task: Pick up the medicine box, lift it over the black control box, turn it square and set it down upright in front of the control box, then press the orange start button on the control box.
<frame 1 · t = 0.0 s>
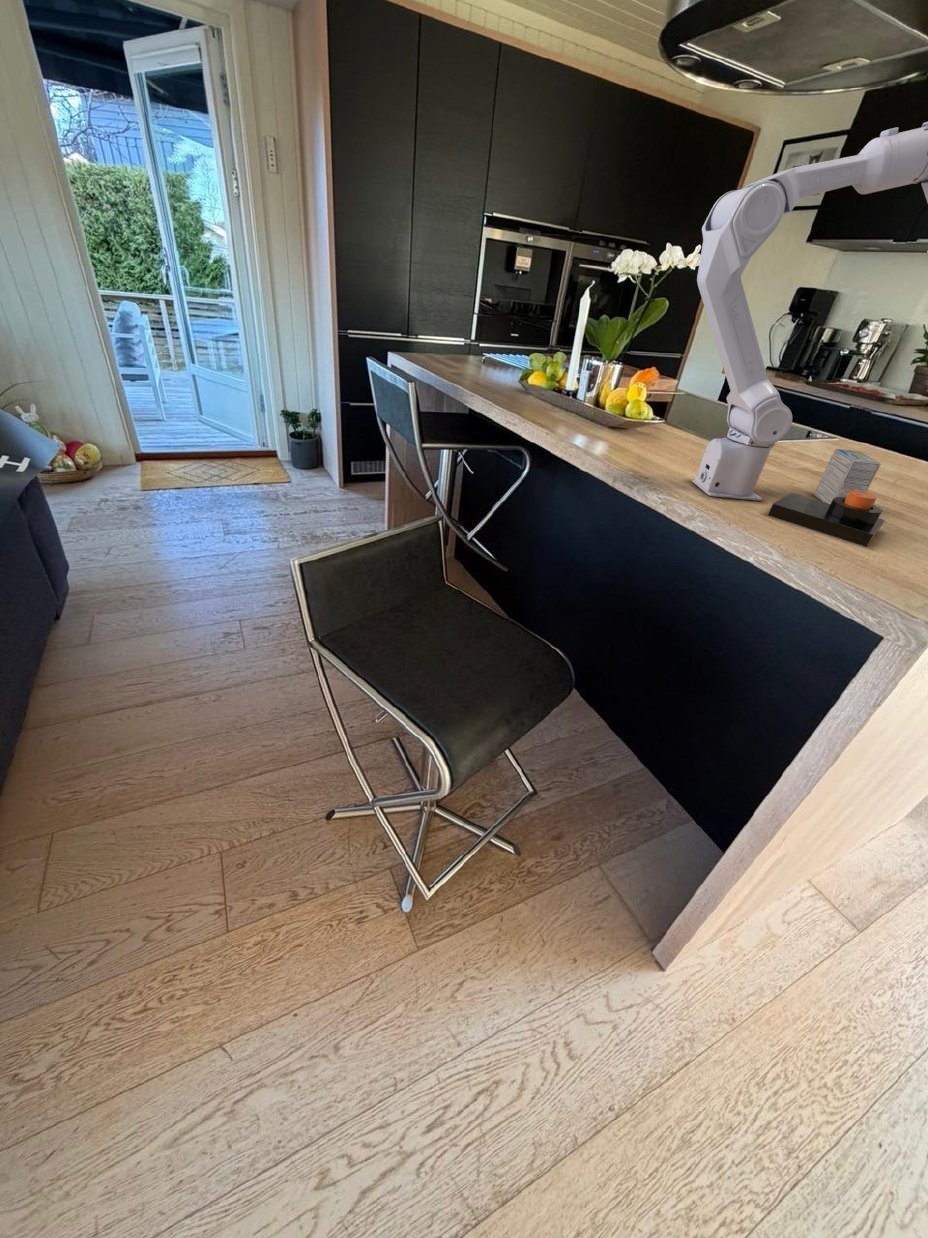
medicine box: (832, 504, 93), on the table
start button: (859, 500, 80), point 5 cm above the table, slide at 0.1 cm
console: (822, 523, 83), on the table
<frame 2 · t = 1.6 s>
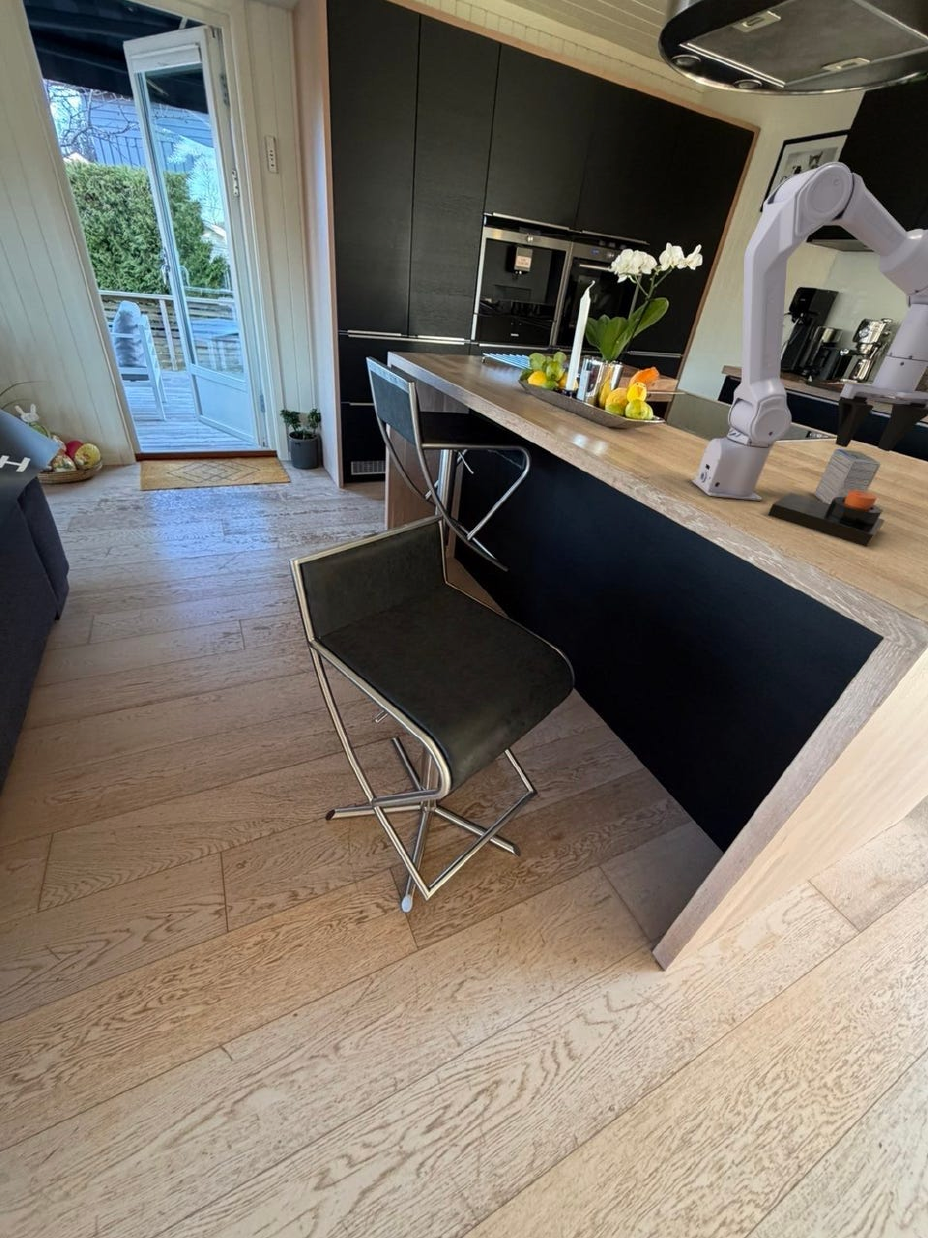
hand: (862, 447, 88), 10 cm above the table, tool pointing down, fingers open, 7 cm apart
nothing on the table moved.
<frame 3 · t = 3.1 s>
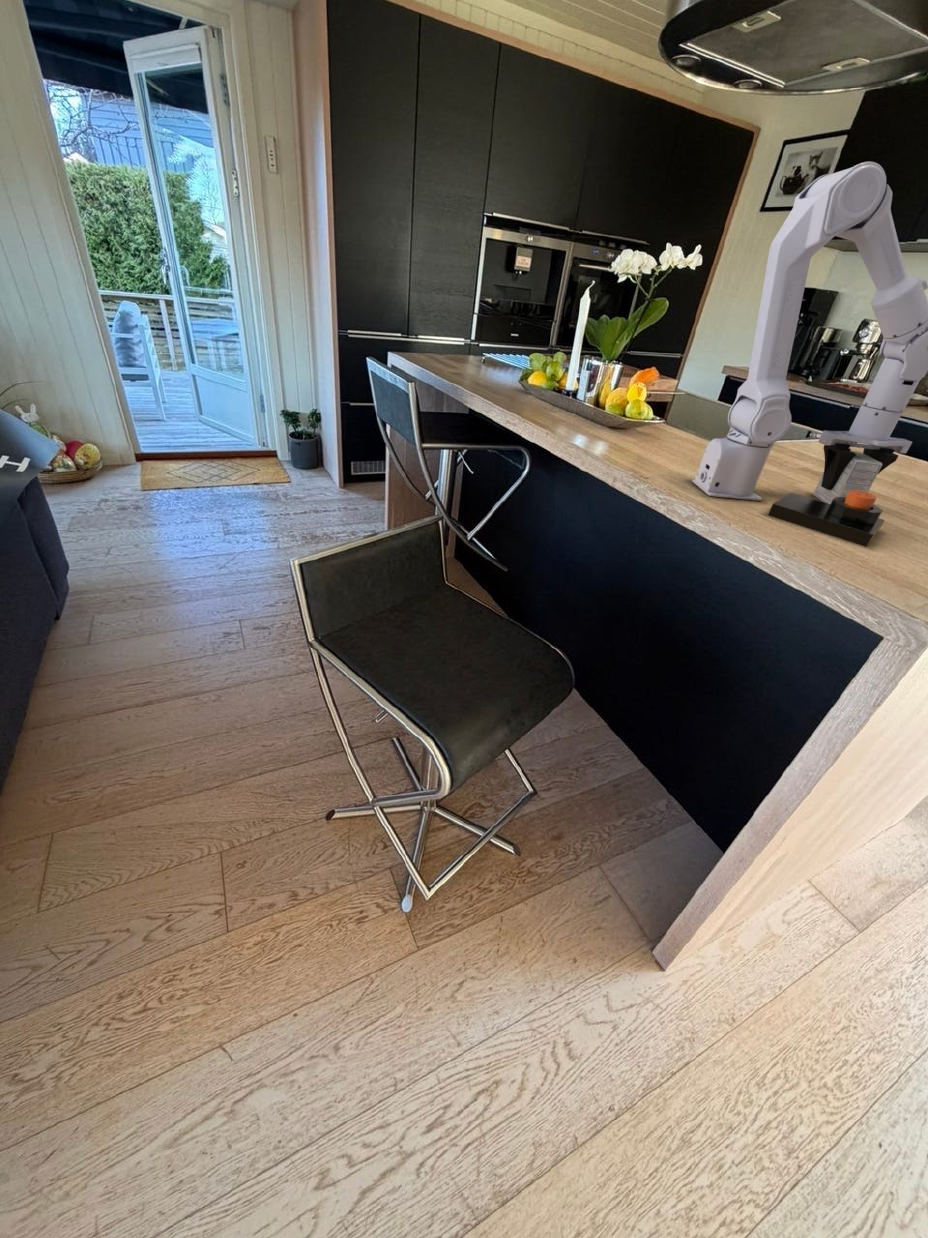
hand: (840, 489, 91), 3 cm above the table, tool pointing down, fingers closed on medicine box, 5 cm apart
medicine box: (833, 504, 93), on the table, touching gripper
everything else where it was.
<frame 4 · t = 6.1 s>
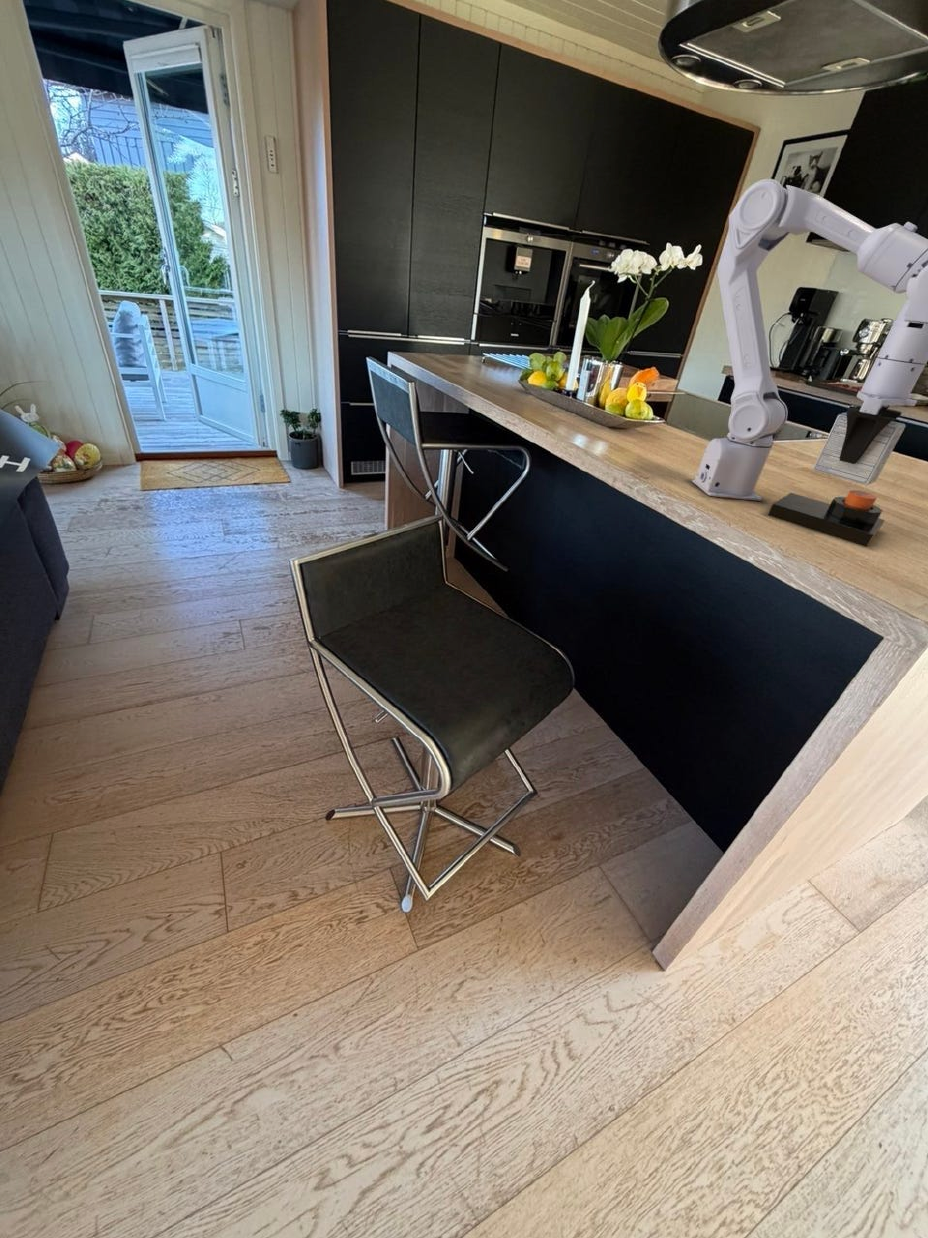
hand: (850, 459, 79), 10 cm above the table, tool pointing down, fingers closed on medicine box, 5 cm apart
medicine box: (842, 478, 80), point 7 cm above the table, touching gripper
everything else where it was.
when the fingers open (3 cm above the table, at t = 9.2 s): medicine box stays where it is, on the table.
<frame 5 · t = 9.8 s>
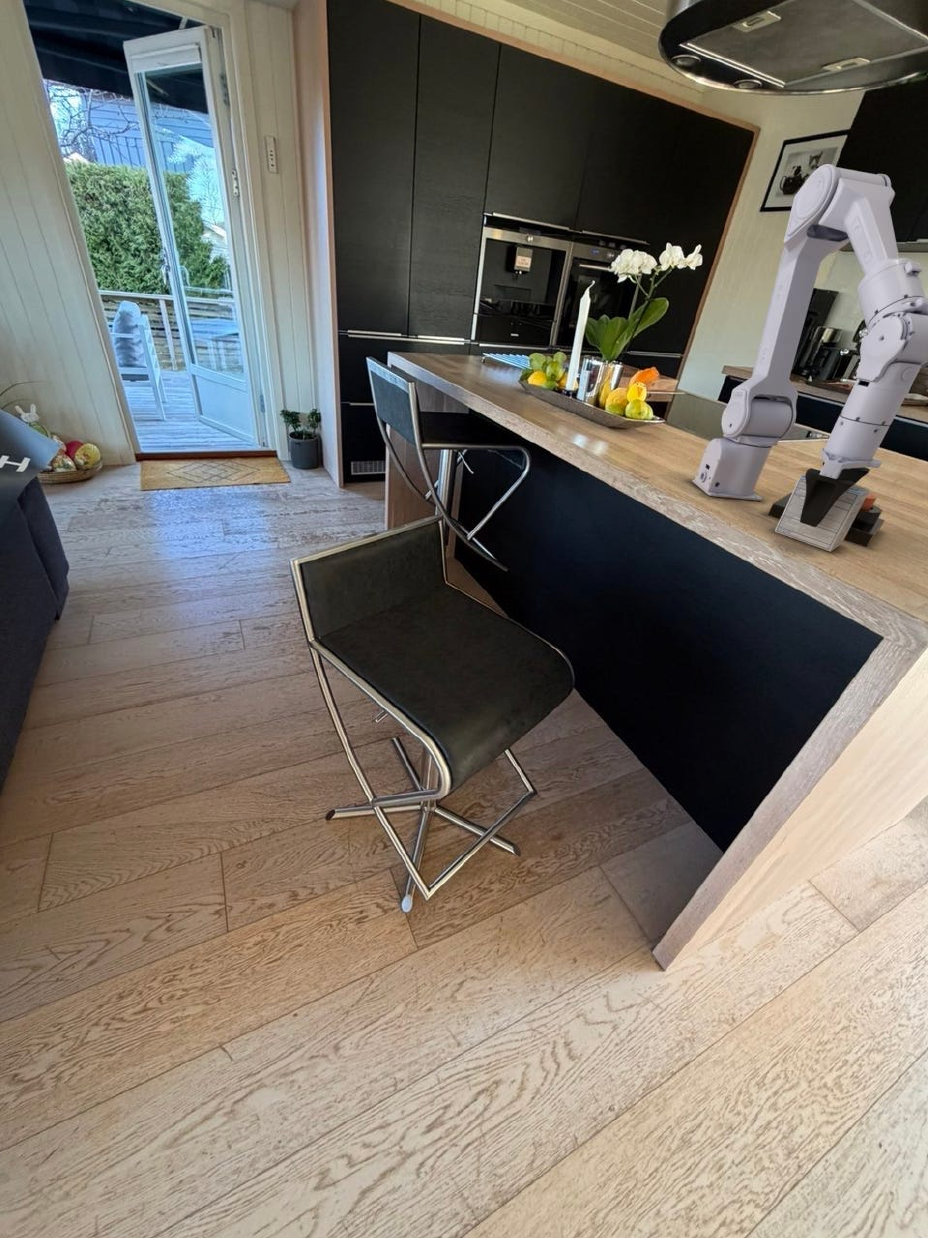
hand: (815, 518, 75), 3 cm above the table, tool pointing down, fingers open, 7 cm apart
medicine box: (805, 540, 76), on the table
everything else where it was.
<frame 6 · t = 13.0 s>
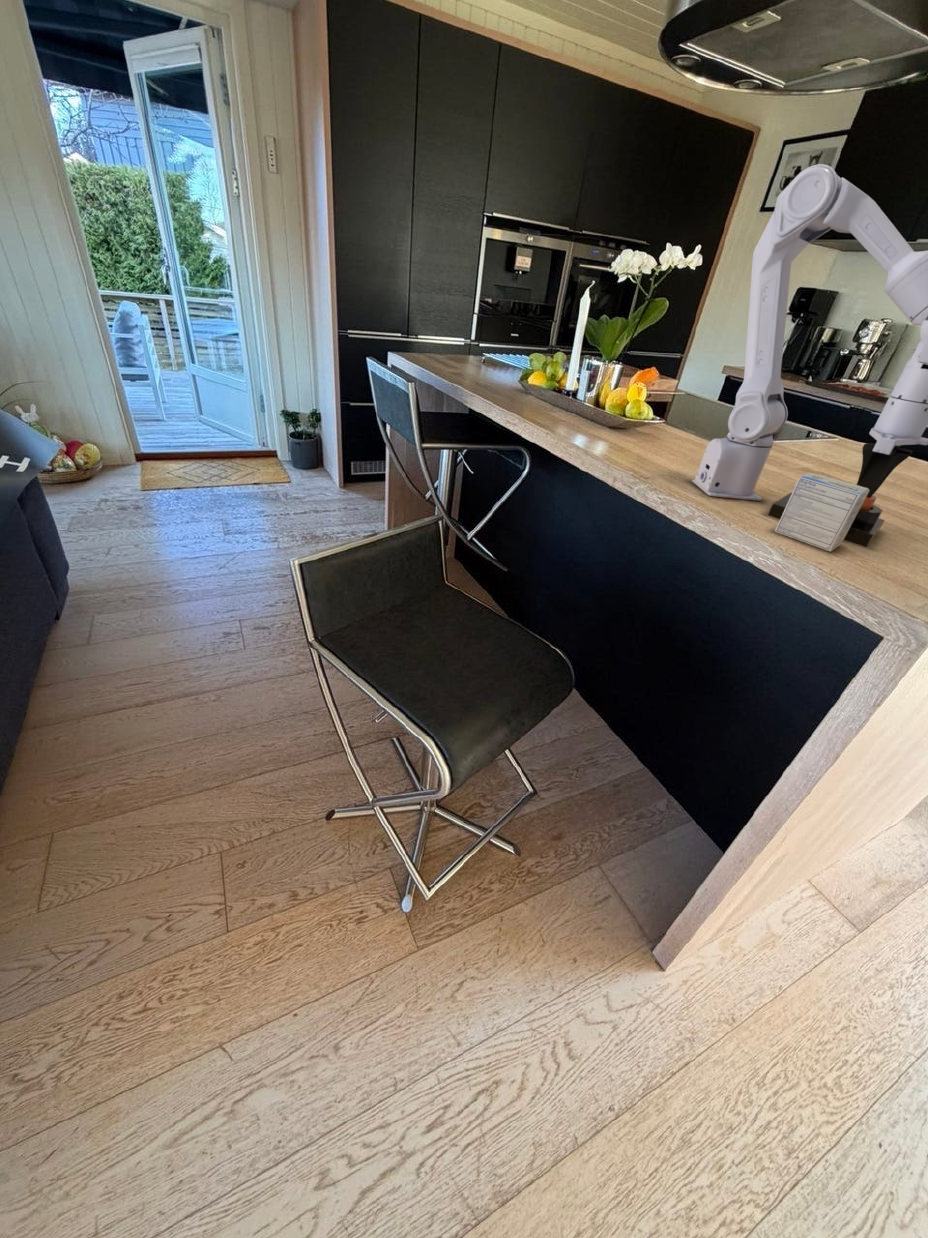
hand: (863, 494, 79), 6 cm above the table, tool pointing down, fingers closed, pressing on start button
start button: (859, 501, 80), point 5 cm above the table, slide at 0.0 cm, touching gripper
everything else where it was.
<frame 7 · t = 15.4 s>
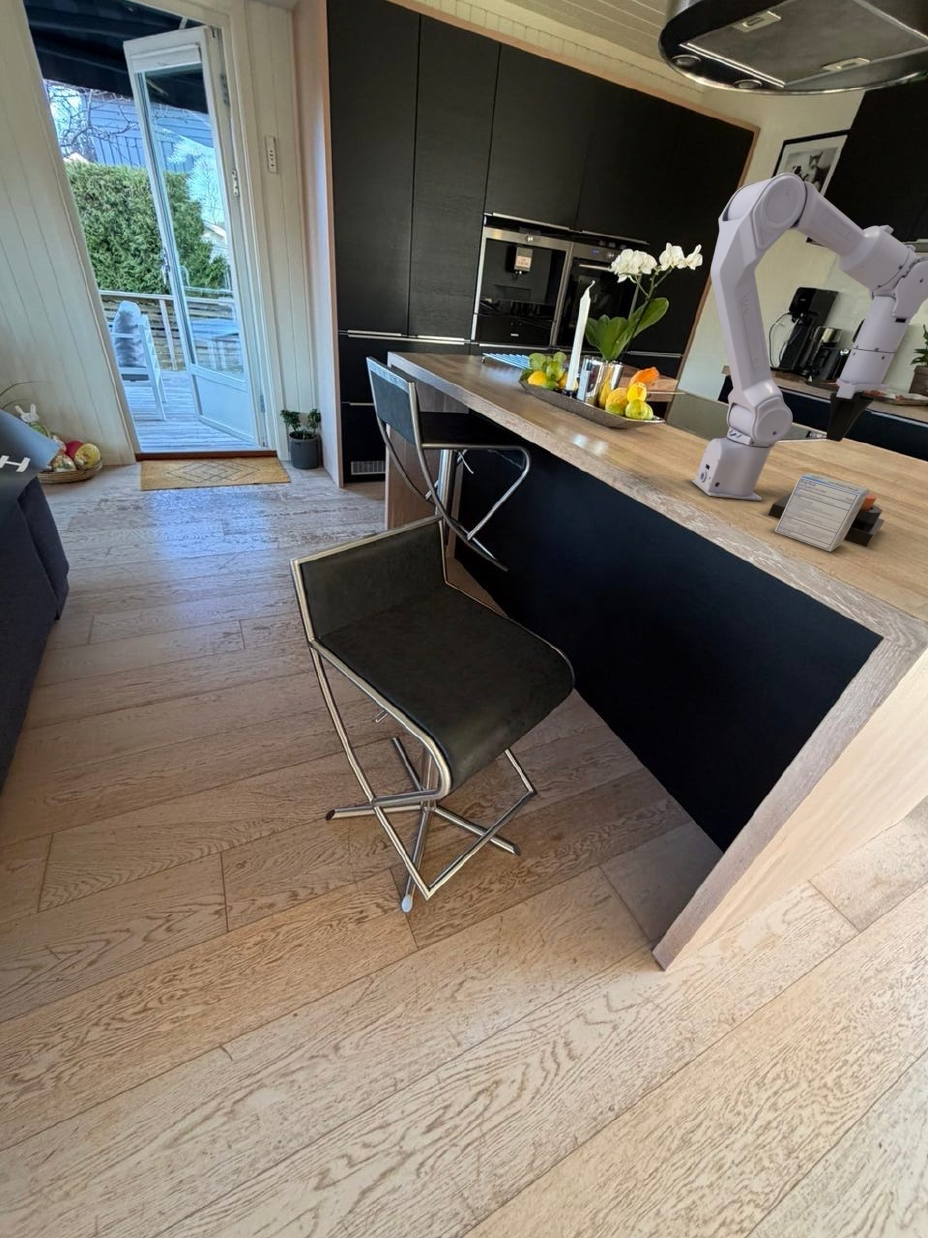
hand: (833, 440, 88), 10 cm above the table, tool pointing down, fingers closed
start button: (859, 500, 80), point 5 cm above the table, slide at 0.1 cm
everything else where it was.
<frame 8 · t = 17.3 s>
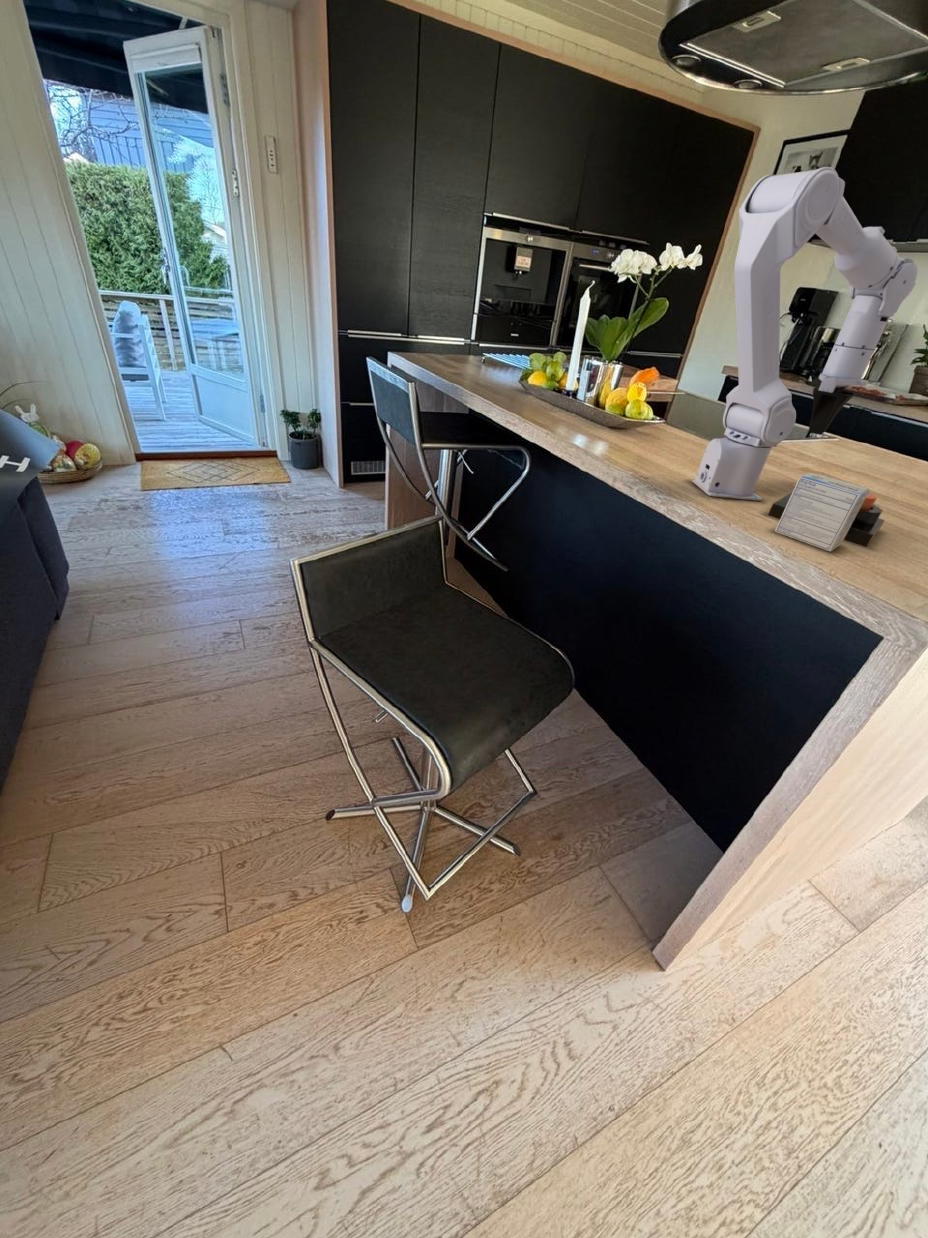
hand: (815, 432, 92), 10 cm above the table, tool pointing down, fingers closed
nothing on the table moved.
at the end: medicine box 0.2 cm from the target spot on the table beside the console, on the table; start button pushed in 1.1 cm at the most during the clip, back to where it started at the end; start button slide at 0.1 cm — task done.
